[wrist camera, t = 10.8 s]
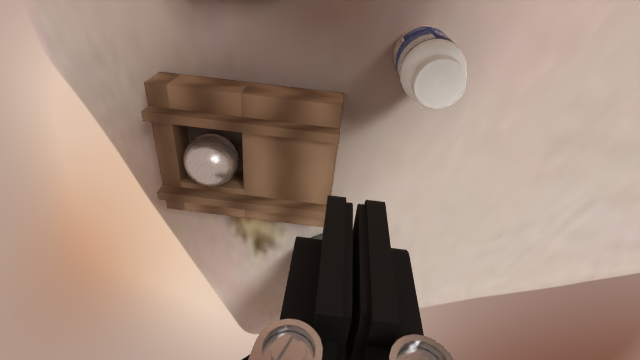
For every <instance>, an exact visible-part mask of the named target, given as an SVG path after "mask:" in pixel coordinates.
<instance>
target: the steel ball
mask: <svg viewBox="0 0 640 360" xmlns="http://www.w3.org/2000/svg"><path fill="white" fill-rule="evenodd" d="M183 162H184V167H185V170H186V172H187V174H188V175H189V176H190V177H191V178H192V179H193V180H194V181H195V182H197V183H199V184H201V185H204V186H218V185H221V184H224V183H226V182H227V181H229V180H230V179H231V178H232V177H233V175H234V174H235V172H236V170H237V167H238V154H237V151H236V149H235V147H234V145H233V144H232V143H231V142H230V141H229V140H228V139H227V138H225V137H223V136H221V135H218V134H203V135H200V136H198V137H196V138H195V139H193V140H192V141H191V142H190V143H189V144H188V146H187V147H186V149H185V152H184V158H183Z"/></svg>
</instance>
